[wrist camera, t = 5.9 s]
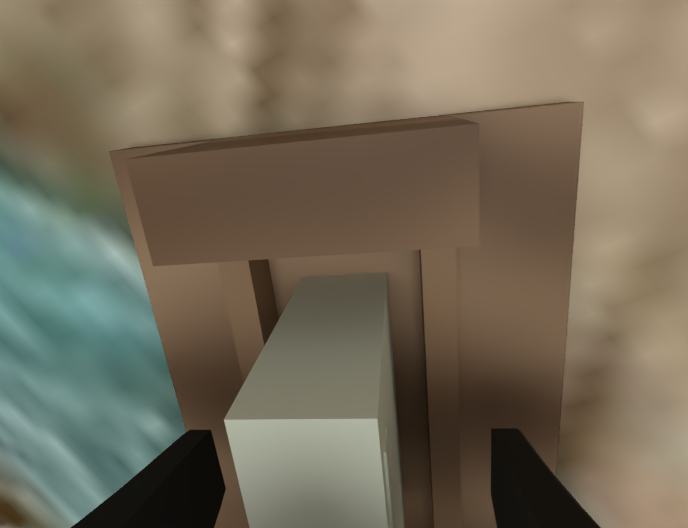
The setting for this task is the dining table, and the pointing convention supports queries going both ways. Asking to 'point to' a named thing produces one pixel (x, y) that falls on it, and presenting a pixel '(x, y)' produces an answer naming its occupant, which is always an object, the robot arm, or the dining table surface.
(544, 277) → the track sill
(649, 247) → the dining table surface
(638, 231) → the dining table surface
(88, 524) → the robot arm
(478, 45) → the dining table surface
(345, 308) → the door panel
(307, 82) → the dining table surface
